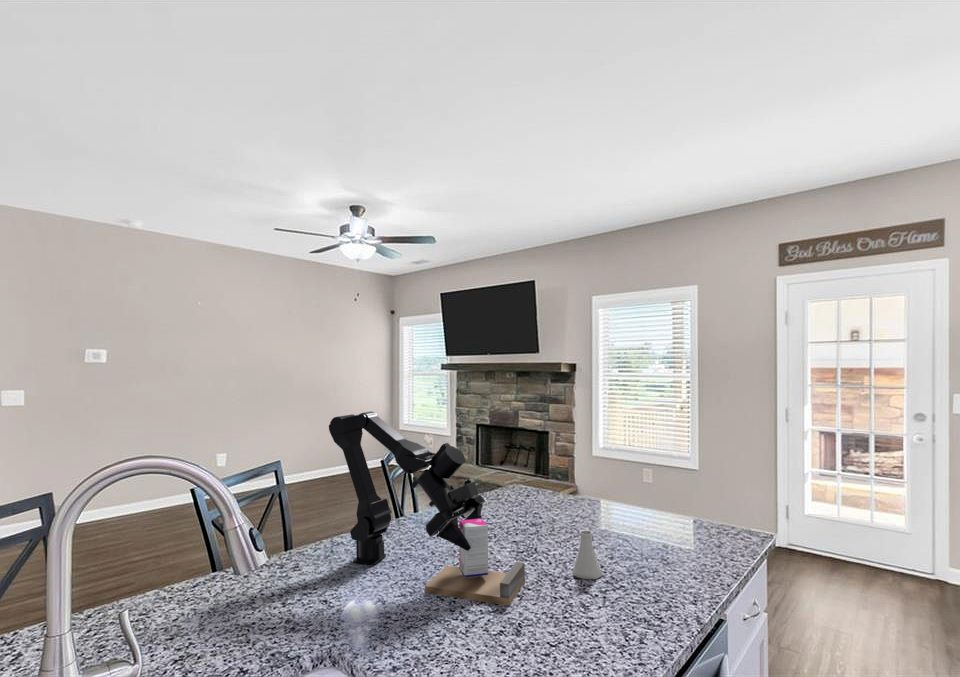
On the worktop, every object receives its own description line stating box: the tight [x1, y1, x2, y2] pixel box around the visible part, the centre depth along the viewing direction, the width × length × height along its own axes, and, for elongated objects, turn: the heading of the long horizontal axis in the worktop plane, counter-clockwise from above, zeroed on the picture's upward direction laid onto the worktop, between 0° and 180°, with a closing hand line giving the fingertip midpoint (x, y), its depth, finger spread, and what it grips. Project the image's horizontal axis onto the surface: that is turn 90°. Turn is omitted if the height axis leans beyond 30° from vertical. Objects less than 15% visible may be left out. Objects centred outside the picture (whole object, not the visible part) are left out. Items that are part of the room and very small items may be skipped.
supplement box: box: [458, 518, 489, 578], centre depth 121 cm, size 6×6×12 cm
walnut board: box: [424, 561, 526, 606], centre depth 119 cm, size 20×12×4 cm, turn 69°
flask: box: [572, 529, 603, 580], centre depth 125 cm, size 7×7×10 cm
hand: (478, 543), depth 121 cm, fingers closed on supplement box, 8 cm apart
